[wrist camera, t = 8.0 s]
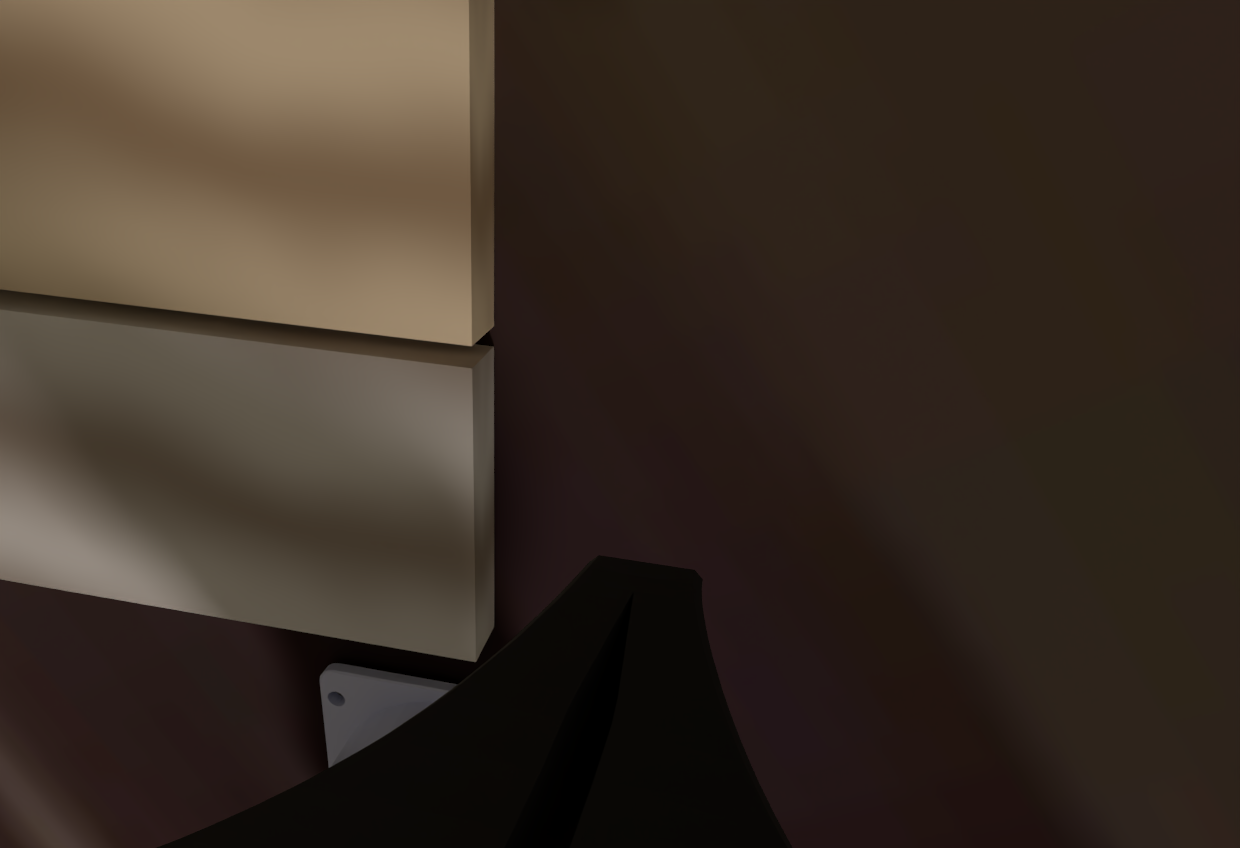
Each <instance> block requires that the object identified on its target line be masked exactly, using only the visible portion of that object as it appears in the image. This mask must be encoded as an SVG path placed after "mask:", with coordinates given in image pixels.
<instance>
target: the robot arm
mask: <svg viewBox="0 0 1240 848" xmlns="http://www.w3.org/2000/svg"><path fill="white" fill-rule="evenodd" d="M702 581H703V580H702V578H701V577H700V576H699V575H698V573H697V572H696V571H695V570H691V569H684V568H678V567H671V566H665V565H658V564H652V563H645V562H639V561H632V560H626V559H619V558H613V557H606V556H600V555H599V556H597V557H596V558H594V559H593V560H592V561H590V562H589V563H588V564H587V565H586V566H585V567H584V569H583V570H582V571H581V572H580V573H579V574H578V575H577V576H576V577H575V578H574V579H573V581H572V582H571V583H570V584H569V585H568V586H567V587H566V588H565V589H564V590H563V591H562V592H561V593H560V594H559V595H558V596H557V597H556V598H555V599H554V600H553V601H552V602H551V603H550V604H549V605H548V606H547V607H546V608H545V609H544V610H543V611H542V612H541V613H540V614H539V615H538V616H537V617H536V618H534V619H533V620H532V621H531V622H530V623H529V624H528V625H527V626H526V627H525V628H524V629H523V630H521V631H520V632H519V633H518V634H517V635H516V636H515V637H514V638H513V639H512V640H511V641H510V642H508V643H507V644H506V645H505V646H504V647H503V648H502V649H500V650H499V651H498V652H497V653H496V654H494V655H493V656H492V657H491V658H489V659H488V660H487V661H486V662H485V663H483V664H482V665H481V666H480V667H478V668H477V669H476V670H475V671H474V672H472V673H471V674H470V675H469V676H467V677H466V678H465V679H464V680H462V681H461V682H460V683H459V684H453V683H447V682H442V681H436V680H430V679H425V678H419V677H414V676H408V675H402V674H397V673H391V672H386V671H380V670H374V669H369V668H363V667H358V666H352V665H346V664H341V663H333V664H330V665H328V666H327V668H326V669H325V670H324V672H323V673H322V674H321V676H320V691H321V700H322V709H323V718H324V728H325V737H326V746H327V755H328V765H329V768H328V769H326V770H324V771H323V772H321V773H319V774H317V775H315V776H314V777H312V778H310V779H308V780H306V781H304V782H302V783H301V784H299V785H297V786H295V787H293V788H291V789H289V790H286V791H284V792H282V793H280V794H278V795H276V796H274V797H272V798H270V799H268V800H266V801H264V802H262V803H260V804H258V805H256V806H253V807H251V808H249V809H247V810H245V811H242V812H240V813H238V814H236V815H234V816H231V817H229V818H227V819H225V820H223V821H220V822H218V823H216V824H214V825H211V826H209V827H207V828H204V829H202V830H200V831H197V832H195V833H193V834H190V835H188V836H185V837H183V838H181V839H178V840H175V841H173V842H170V843H168V844H165V845H162V846H160V847H157V848H792V846H791V844H790V843H789V841H788V839H787V837H786V835H785V833H784V831H783V829H782V828H781V826H780V824H779V822H778V820H777V818H776V816H775V814H774V813H773V811H772V809H771V807H770V804H769V802H768V800H767V798H766V796H765V794H764V792H763V790H762V788H761V786H760V784H759V782H758V780H757V777H756V775H755V773H754V771H753V769H752V766H751V764H750V762H749V759H748V757H747V755H746V752H745V750H744V747H743V745H742V743H741V740H740V737H739V735H738V732H737V730H736V727H735V724H734V722H733V719H732V717H731V714H730V711H729V708H728V705H727V702H726V700H725V697H724V694H723V691H722V687H721V684H720V680H719V677H718V674H717V670H716V667H715V663H714V660H713V657H712V653H711V649H710V645H709V641H708V636H707V631H706V626H705V620H704V614H703V607H702ZM337 692H338V693H340V694H341V695H342V696H340V695H339V694H338V693H337ZM343 696H344V697H343Z"/></svg>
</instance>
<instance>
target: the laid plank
mask: <svg viewBox="0 0 1240 848" xmlns="http://www.w3.org/2000/svg"><path fill="white" fill-rule="evenodd" d="M0 579H2V580H8V581H13V582H19V583H25V584H31V585H36V586H42V587H48V588H54V589H59V590H65V591H71V592H76V593H82V594H88V595H94V596H99V597H105V598H111V599H117V600H122V601H128V602H134V603H140V604H145V605H151V606H157V607H162V608H168V609H174V610H180V611H185V612H191V613H197V614H203V615H208V616H214V617H220V618H225V619H231V620H237V621H243V622H248V623H254V624H260V625H266V626H271V627H277V628H283V629H289V630H294V631H300V632H306V633H311V634H317V635H323V636H329V637H334V638H340V639H346V640H352V641H357V642H363V643H369V644H374V645H380V646H386V647H392V648H397V649H403V650H409V651H415V652H420V653H426V654H432V655H438V656H443V657H449V658H455V659H460V660H466V661H472V662H476V661H477V659H478V657H479V655H480V653H481V651H482V649H483V647H484V645H485V643H486V642H487V640H488V638H489V636H490V634H491V632H492V630H493V628H494V346H486V345H478V344H474V345H473V346H465V345H457V344H449V343H440V342H432V341H424V340H415V339H407V338H399V337H391V336H382V335H374V334H366V333H357V332H349V331H341V330H333V329H324V328H316V327H308V326H300V325H291V324H283V323H275V322H266V321H258V320H250V319H242V318H233V317H225V316H217V315H208V314H200V313H192V312H184V311H175V310H167V309H159V308H150V307H142V306H134V305H126V304H117V303H109V302H101V301H92V300H84V299H76V298H68V297H59V296H51V295H43V294H34V293H26V292H18V291H10V290H1V289H0Z"/></svg>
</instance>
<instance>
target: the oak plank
mask: <svg viewBox="0 0 1240 848" xmlns="http://www.w3.org/2000/svg"><path fill="white" fill-rule="evenodd" d="M0 289H1V290H10V291H18V292H26V293H34V294H43V295H51V296H59V297H68V298H76V299H84V300H92V301H101V302H109V303H117V304H126V305H134V306H142V307H150V308H159V309H167V310H175V311H184V312H192V313H200V314H208V315H217V316H225V317H233V318H242V319H250V320H258V321H266V322H275V323H283V324H291V325H300V326H308V327H316V328H324V329H333V330H341V331H349V332H357V333H366V334H374V335H382V336H391V337H399V338H407V339H415V340H424V341H432V342H440V343H449V344H457V345H465V346H473V345H474V344H475V343H476V342H477V341H478V340H479V339H480V338H482V337H483V336H484V335H485V334H486V333H487V332H488V331H489V330H490V329H491V328H492V327H493V326H494V0H0Z"/></svg>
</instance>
